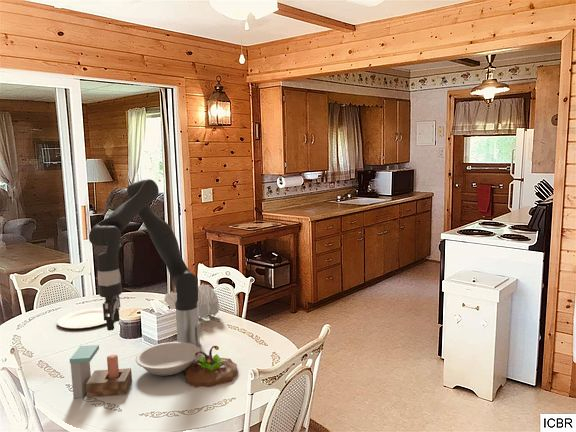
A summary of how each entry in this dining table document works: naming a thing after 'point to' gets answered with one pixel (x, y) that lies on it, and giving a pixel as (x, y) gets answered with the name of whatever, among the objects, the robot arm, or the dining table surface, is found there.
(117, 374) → the peg
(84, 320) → the plate
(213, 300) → the grey rounded lump
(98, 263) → the robot arm
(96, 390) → the socket
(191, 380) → the plant
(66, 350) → the dining table surface
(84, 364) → the teal-topped grey pillar
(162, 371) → the soup bowl
